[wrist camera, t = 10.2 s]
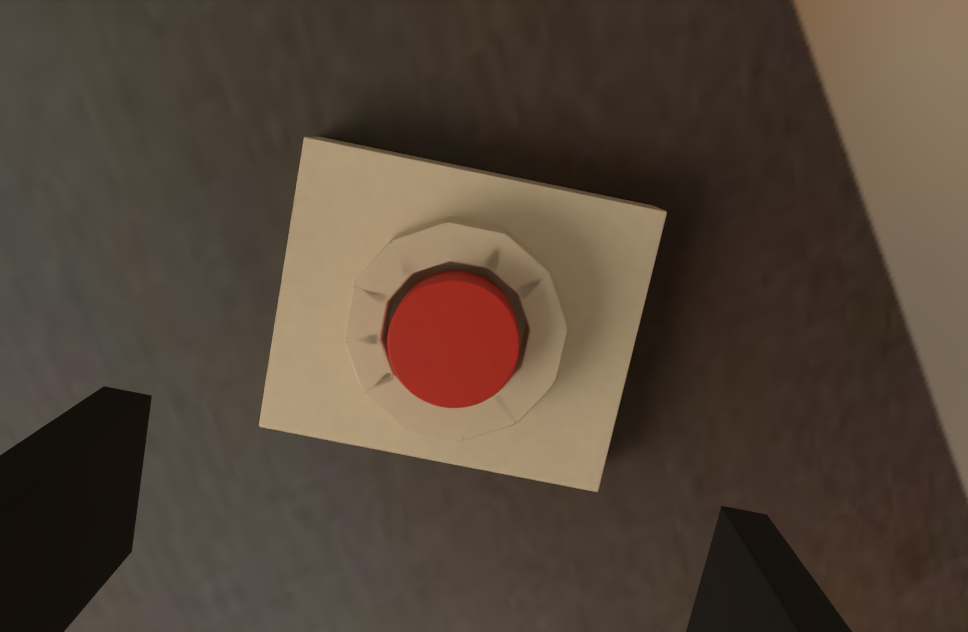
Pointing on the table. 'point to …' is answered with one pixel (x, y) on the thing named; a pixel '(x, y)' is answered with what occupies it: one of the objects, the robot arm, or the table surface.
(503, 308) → the button
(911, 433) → the table surface
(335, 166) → the control block
